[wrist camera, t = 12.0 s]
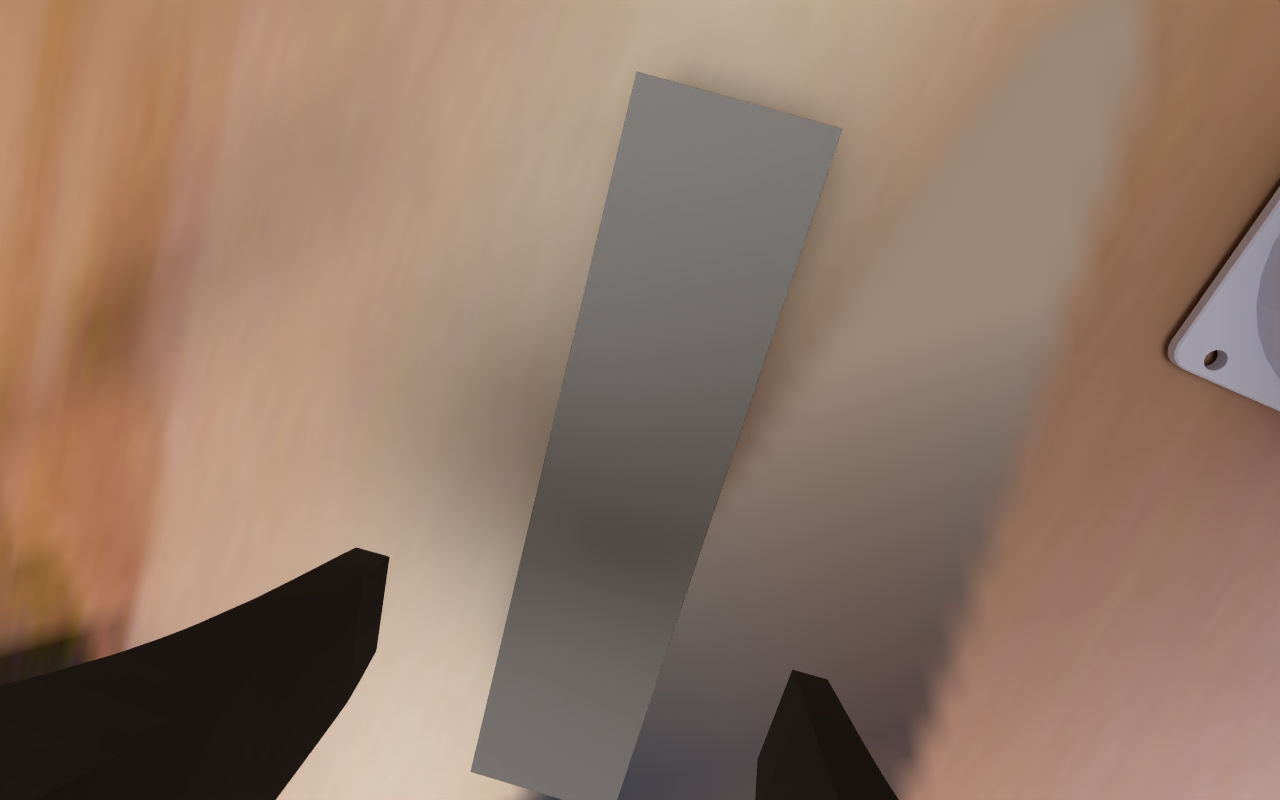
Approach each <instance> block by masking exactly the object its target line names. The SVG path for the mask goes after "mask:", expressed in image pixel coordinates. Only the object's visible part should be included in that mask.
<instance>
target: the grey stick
mask: <svg viewBox="0 0 1280 800" xmlns="http://www.w3.org/2000/svg"><path fill="white" fill-rule="evenodd" d="M841 132H842V128H838V127H834V126H831V125H827V124H824V123H820V122H816V121H813V120H809V119H806V118H802V117H798V116H795V115H791V114H788V113H784V112H780V111H777V110H773V109H770V108H766V107H762V106H759V105H755V104H752V103H748V102H744V101H741V100H737V99H734V98H730V97H726V96H723V95H719V94H716V93H712V92H708V91H705V90H701V89H697V88H694V87H690V86H687V85H683V84H679V83H676V82H672V81H669V80H665V79H661V78H658V77H654V76H651V75H647V74H643V73H640V72H636V77H635V81H634V85H633V89H632V94H631V98H630V102H629V106H628V110H627V115H626V119H625V123H624V127H623V131H622V136H621V140H620V144H619V148H618V153H617V157H616V161H615V165H614V169H613V174H612V178H611V182H610V186H609V190H608V195H607V199H606V203H605V207H604V212H603V216H602V220H601V224H600V228H599V233H598V237H597V241H596V245H595V250H594V254H593V258H592V262H591V266H590V271H589V275H588V279H587V283H586V287H585V292H584V296H583V300H582V304H581V309H580V313H579V317H578V321H577V325H576V330H575V334H574V338H573V342H572V346H571V351H570V355H569V359H568V363H567V368H566V372H565V376H564V380H563V384H562V389H561V393H560V397H559V401H558V406H557V410H556V414H555V418H554V422H553V427H552V431H551V435H550V439H549V443H548V448H547V452H546V456H545V460H544V465H543V469H542V473H541V477H540V481H539V486H538V490H537V494H536V498H535V502H534V507H533V511H532V515H531V519H530V524H529V528H528V532H527V536H526V540H525V545H524V549H523V553H522V557H521V561H520V566H519V570H518V574H517V578H516V583H515V587H514V591H513V595H512V599H511V604H510V608H509V612H508V616H507V621H506V625H505V629H504V633H503V637H502V642H501V646H500V650H499V654H498V658H497V663H496V667H495V671H494V675H493V680H492V684H491V688H490V692H489V696H488V701H487V705H486V709H485V713H484V717H483V722H482V726H481V730H480V734H479V739H478V743H477V747H476V751H475V755H474V760H473V764H472V768H471V772H474V773H477V774H480V775H483V776H487V777H490V778H493V779H497V780H500V781H503V782H506V783H510V784H513V785H516V786H520V787H523V788H526V789H529V790H533V791H536V792H539V793H543V794H546V795H549V796H552V797H556V798H559V799H562V800H617V798H618V795H619V792H620V789H621V786H622V783H623V780H624V777H625V774H626V771H627V768H628V765H629V762H630V759H631V756H632V753H633V750H634V747H635V745H636V741H637V739H638V735H639V732H640V730H641V727H642V724H643V721H644V718H645V715H646V712H647V709H648V706H649V703H650V700H651V696H652V694H653V691H654V688H655V685H656V682H657V679H658V676H659V673H660V670H661V667H662V664H663V661H664V658H665V655H666V652H667V649H668V646H669V643H670V640H671V637H672V634H673V631H674V629H675V625H676V623H677V620H678V617H679V614H680V610H681V608H682V605H683V602H684V599H685V596H686V593H687V590H688V587H689V584H690V581H691V578H692V575H693V572H694V569H695V566H696V563H697V560H698V557H699V554H700V551H701V548H702V545H703V542H704V539H705V536H706V533H707V530H708V527H709V524H710V521H711V518H712V515H713V512H714V510H715V507H716V504H717V501H718V498H719V495H720V492H721V489H722V486H723V483H724V480H725V477H726V474H727V471H728V468H729V465H730V462H731V459H732V456H733V453H734V450H735V447H736V444H737V441H738V438H739V435H740V432H741V429H742V426H743V423H744V420H745V417H746V414H747V411H748V408H749V405H750V402H751V399H752V396H753V394H754V391H755V388H756V385H757V382H758V379H759V376H760V373H761V370H762V367H763V364H764V361H765V358H766V355H767V352H768V349H769V346H770V343H771V340H772V337H773V334H774V331H775V328H776V325H777V322H778V319H779V316H780V313H781V310H782V307H783V304H784V301H785V298H786V295H787V292H788V289H789V286H790V283H791V280H792V278H793V275H794V272H795V269H796V266H797V263H798V260H799V257H800V254H801V251H802V248H803V245H804V242H805V239H806V236H807V233H808V230H809V227H810V224H811V221H812V218H813V215H814V212H815V209H816V206H817V203H818V200H819V197H820V194H821V191H822V188H823V185H824V182H825V179H826V176H827V173H828V170H829V167H830V164H831V161H832V159H833V156H834V153H835V150H836V147H837V144H838V141H839V138H840V135H841Z"/></svg>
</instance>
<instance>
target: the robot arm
mask: <svg viewBox="0 0 1280 800" xmlns="http://www.w3.org/2000/svg"><path fill="white" fill-rule="evenodd" d="M1215 350H1217V352H1218V356H1217V359H1216V361H1214V362H1213V363H1212V364H1211V365H1207V366H1205V365H1204V360H1205V357H1206V355H1208V354H1209V353H1210V352H1212V351H1215ZM1168 357H1169V359H1170V361H1171V362H1172V363H1173V364H1175V365H1176V366H1178V367H1180V368H1182V369H1184V370H1186V371H1188V372H1190V373H1193V374H1195V375H1197V376H1200V377H1202V378H1204V379H1207V380H1209V381H1211V382H1213V383H1216V384H1218V385H1220V386H1223V387H1225V388H1227V389H1229V390H1232V391H1234V392H1236V393H1239V394H1241V395H1243V396H1245V397H1248V398H1250V399H1252V400H1255V401H1257V402H1259V403H1262V404H1264V405H1266V406H1268V407H1271V408H1273V409H1275V410H1278V411H1280V187H1279V188H1278V189H1277V191H1276V192H1275V194H1274V195H1273V197H1272V198H1271V199H1270V201H1269V202H1268V204H1267V205H1266V207H1265V208H1264V209H1263V211H1262V212H1261V214H1260V215H1259V217H1258V218H1257V219H1256V221H1255V222H1254V224H1253V225H1252V226H1251V228H1250V229H1249V231H1248V232H1247V234H1246V235H1245V236H1244V238H1243V239H1242V241H1241V242H1240V244H1239V245H1238V246H1237V248H1236V249H1235V251H1234V252H1233V254H1232V255H1231V256H1230V258H1229V259H1228V261H1227V262H1226V264H1225V265H1224V266H1223V268H1222V269H1221V271H1220V272H1219V273H1218V275H1217V276H1216V278H1215V279H1214V281H1213V282H1212V283H1211V285H1210V286H1209V288H1208V289H1207V291H1206V292H1205V293H1204V295H1203V296H1202V298H1201V299H1200V301H1199V302H1198V303H1197V305H1196V306H1195V308H1194V309H1193V311H1192V312H1191V313H1190V315H1189V316H1188V318H1187V319H1186V320H1185V322H1184V323H1183V325H1182V326H1181V328H1180V329H1179V330H1178V332H1177V333H1176V335H1175V336H1174V338H1173V339H1172V340H1171V342H1170V345H1169V347H1168ZM388 563H389V557H388V556H385V555H381V554H378V553H374V552H370V551H367V550H363V549H360V548H354V549H352V550H350V551H348V552H346V553H344V554H342V555H340V556H338V557H336V558H334V559H332V560H330V561H328V562H326V563H324V564H323V565H321V566H319V567H317V568H315V569H313V570H311V571H309V572H307V573H305V574H303V575H301V576H299V577H297V578H295V579H293V580H291V581H289V582H287V583H285V584H283V585H281V586H279V587H277V588H275V589H273V590H271V591H269V592H267V593H265V594H263V595H261V596H259V597H257V598H255V599H253V600H251V601H248V602H246V603H244V604H242V605H239V606H237V607H235V608H233V609H230V610H228V611H226V612H224V613H221V614H219V615H217V616H215V617H212V618H210V619H208V620H205V621H203V622H201V623H199V624H196V625H194V626H191V627H189V628H186V629H184V630H181V631H179V632H176V633H174V634H171V635H168V636H166V637H163V638H160V639H158V640H155V641H152V642H149V643H146V644H143V645H140V646H138V647H135V648H132V649H129V650H126V651H123V652H120V653H117V654H114V655H111V656H107V657H104V658H100V659H97V660H93V661H90V662H86V663H83V664H79V665H76V666H72V667H69V668H66V669H62V670H59V671H55V672H52V673H48V674H45V675H41V676H37V677H33V678H29V679H25V680H20V681H16V682H12V683H8V684H4V685H0V800H276V799H277V797H278V796H279V794H280V793H281V792H282V790H283V789H284V788H285V786H286V785H287V784H288V782H289V781H290V780H291V778H292V777H293V776H294V774H295V773H296V772H297V770H298V769H299V768H300V766H301V765H302V763H303V762H304V761H305V759H306V758H307V757H308V755H309V754H310V753H311V751H312V750H313V749H314V747H315V746H316V745H317V743H318V742H319V741H320V739H321V738H322V736H323V735H324V734H325V732H326V731H327V730H328V728H329V727H330V725H331V724H332V723H333V721H334V720H335V719H336V717H337V716H338V714H339V713H340V712H341V710H342V709H343V708H344V706H345V705H346V703H347V702H348V700H349V698H350V697H351V695H352V693H353V691H354V690H355V688H356V686H357V685H358V683H359V681H360V679H361V678H362V676H363V674H364V672H365V670H366V669H367V667H368V665H369V663H370V661H371V659H372V658H373V656H374V654H375V652H376V649H377V642H378V635H379V628H380V620H381V613H382V606H383V599H384V592H385V585H386V578H387V570H388ZM755 800H898V798H897V797H896V795H895V794H894V792H893V791H892V789H891V787H890V786H889V784H888V783H887V781H886V780H885V778H884V776H883V775H882V773H881V771H880V770H879V768H878V766H877V765H876V763H875V762H874V760H873V758H872V757H871V755H870V754H869V752H868V750H867V748H866V747H865V745H864V743H863V741H862V740H861V738H860V736H859V734H858V733H857V731H856V729H855V727H854V726H853V724H852V722H851V720H850V718H849V717H848V715H847V713H846V711H845V710H844V708H843V706H842V704H841V703H840V701H839V699H838V697H837V695H836V694H835V692H834V690H833V688H832V687H831V685H830V683H829V681H828V680H827V679H824V678H820V677H817V676H813V675H809V674H806V673H802V672H799V671H795V670H792V673H791V675H790V677H789V680H788V683H787V685H786V688H785V690H784V693H783V695H782V698H781V701H780V703H779V706H778V708H777V711H776V713H775V716H774V719H773V721H772V724H771V726H770V729H769V732H768V734H767V737H766V739H765V742H764V744H763V747H762V750H761V752H760V755H759V757H758V763H757V780H756V799H755Z"/></svg>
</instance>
